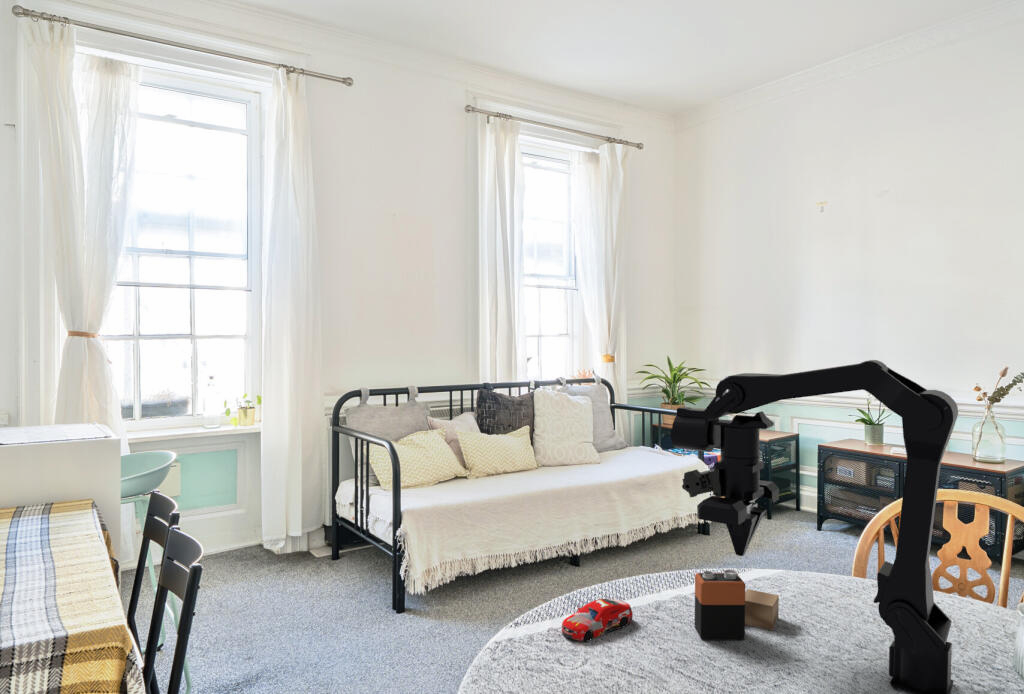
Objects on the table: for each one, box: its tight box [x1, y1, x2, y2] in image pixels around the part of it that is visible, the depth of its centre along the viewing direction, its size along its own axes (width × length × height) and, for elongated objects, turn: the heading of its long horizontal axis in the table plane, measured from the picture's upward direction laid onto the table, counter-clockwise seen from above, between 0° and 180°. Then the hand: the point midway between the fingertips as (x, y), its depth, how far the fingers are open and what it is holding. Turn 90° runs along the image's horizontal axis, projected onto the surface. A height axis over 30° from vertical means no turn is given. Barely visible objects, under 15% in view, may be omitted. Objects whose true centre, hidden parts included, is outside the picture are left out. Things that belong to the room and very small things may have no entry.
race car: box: [561, 597, 633, 643], centre depth 109 cm, size 13×5×4 cm, turn 126°
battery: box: [694, 569, 746, 641], centre depth 107 cm, size 4×7×10 cm, turn 89°
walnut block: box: [745, 588, 780, 631], centre depth 112 cm, size 5×5×4 cm
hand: (740, 555), depth 106 cm, fingers closed
